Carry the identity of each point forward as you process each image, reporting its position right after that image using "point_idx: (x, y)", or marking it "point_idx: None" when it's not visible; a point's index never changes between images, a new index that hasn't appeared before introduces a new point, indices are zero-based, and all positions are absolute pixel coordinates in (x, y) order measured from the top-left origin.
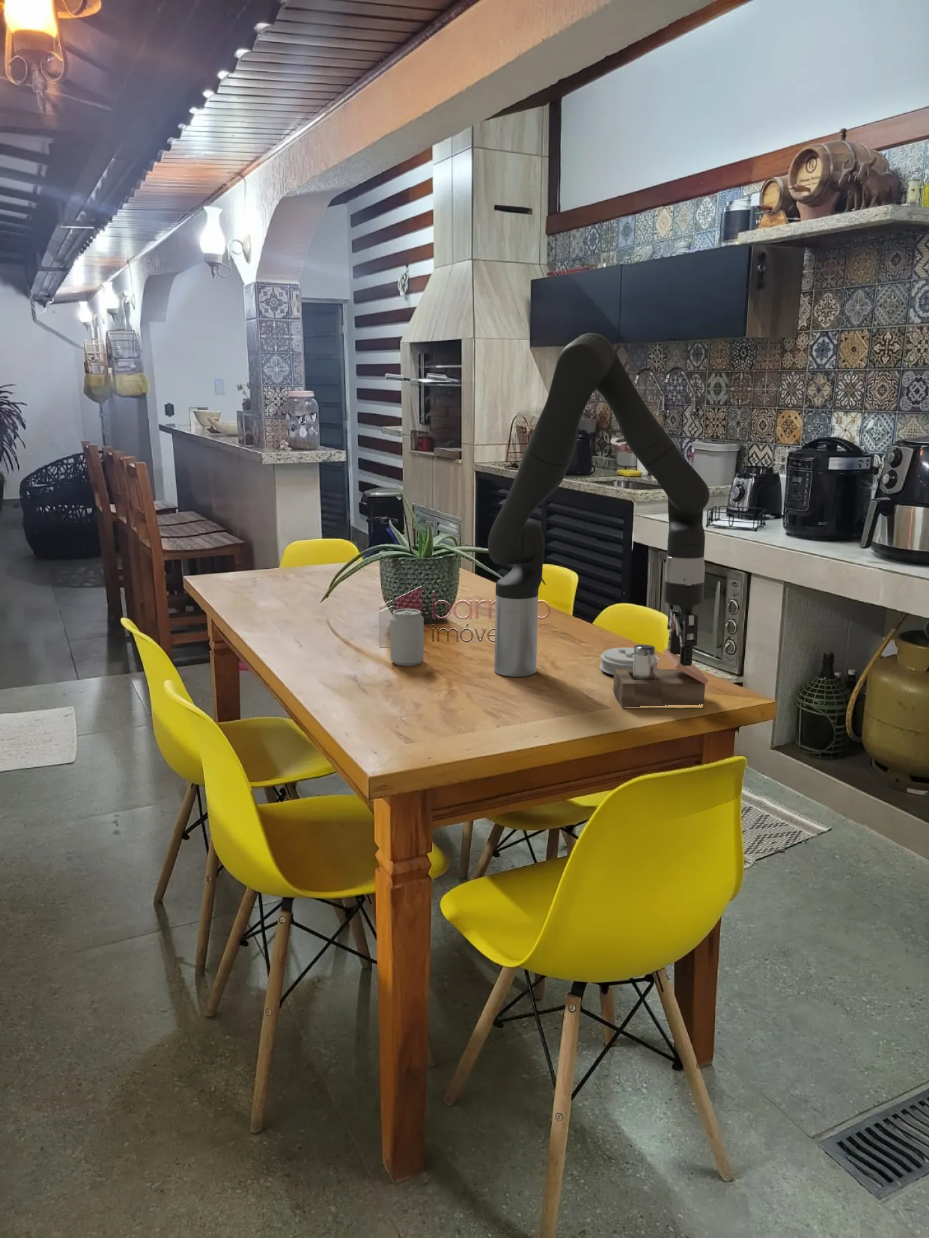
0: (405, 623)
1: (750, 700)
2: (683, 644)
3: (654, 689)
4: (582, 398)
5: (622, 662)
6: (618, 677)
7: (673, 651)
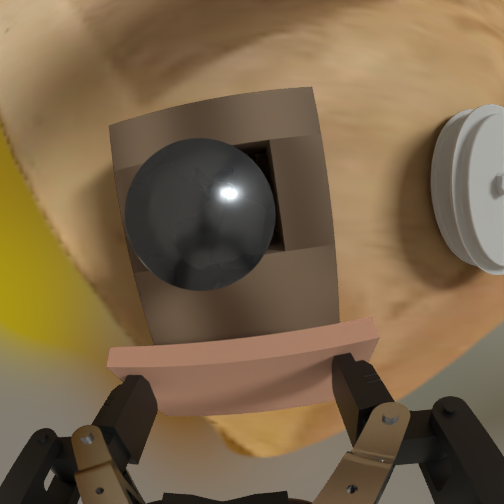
0: None
1: (273, 442)
2: (46, 433)
3: None
4: None
5: (465, 155)
6: (203, 101)
7: (335, 369)
